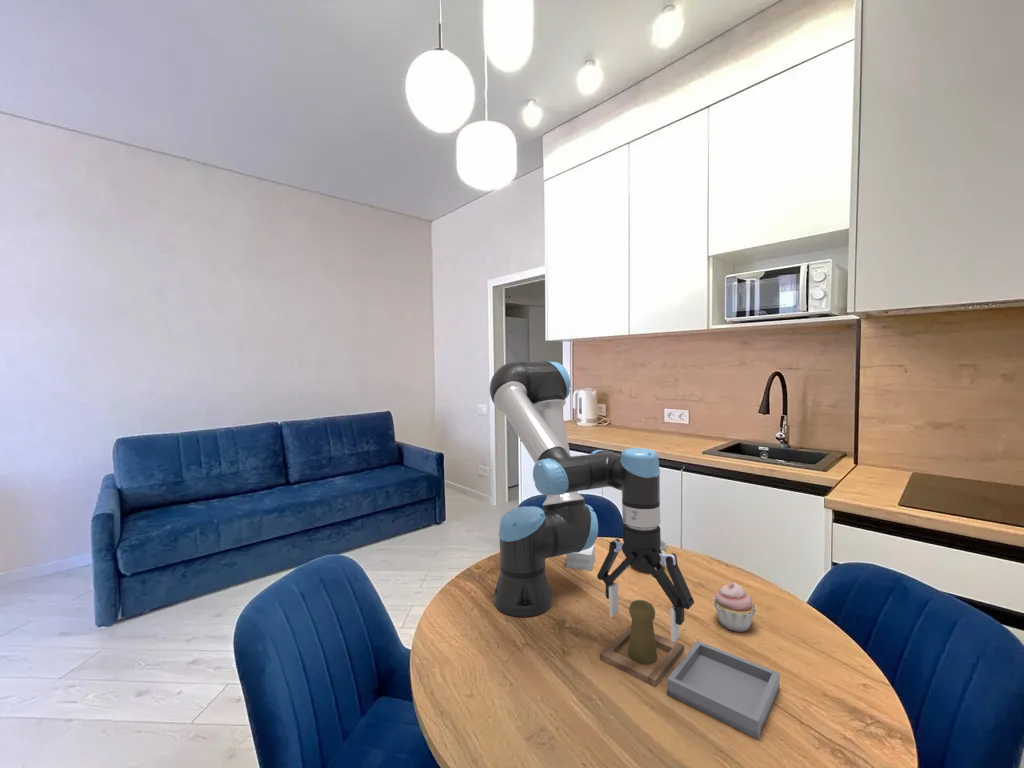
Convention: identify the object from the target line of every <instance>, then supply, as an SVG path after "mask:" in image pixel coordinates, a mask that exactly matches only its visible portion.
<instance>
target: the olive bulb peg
mask: <svg viewBox="0 0 1024 768" xmlns="http://www.w3.org/2000/svg"><path fill="white" fill-rule="evenodd" d="M628 613H629V616H630V618H631V624H630V625H631V631H630V639H629V641H628V647H627V656H628V658H629V659H631V660H633V661H635V662H637V663H639V664H642V665H644V666H646V665H647V666H648V665H653V664H655V663H656V662H657V660H658V651H657V647H656V642H655V635H654V633H655V630H654V623H653V621H654V620H655V617H656V610H655V607H654V605H653V604H652V603H651V602H650V601H648V600H647V601H646V600H643V599H637V600H633V601H632V602H631V603H630V604H629V609H628Z"/></svg>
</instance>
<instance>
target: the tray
mask: <svg viewBox="0 0 1024 768" xmlns="http://www.w3.org/2000/svg"><path fill="white" fill-rule="evenodd" d="M780 676H781V675H780V672H778V671H775V670H773V669H770V668H768V667H765V666H762V665H760V664H758V663H755V662H754V661H753V662H752V661H750V660H747V659H744V658H743V657H740V656H737V655H735V654H732V653H729V652H727V651H725V650H722V649H720V648H717V647H715V646H712V645H710V644H707V643H705V642H702V641H700V640H696V641H695V643H694V644H693V645H691V648H689V650H688V651H687V653H686V654H685V655H684V656H683V658H682V659H681V661H680V662H679V663H678V664H677V666H675V668H674V669H673V670H672V672H671V673H670V674H669V675H668V677H667V678H666V685H667V686H666V690H667V691H666V693H667V696H669V697H670V698H673V699H675V700H677V701H679V702H681V703H683V704H685V705H688V706H689V707H692V708H694V709H695V710H697V711H699V712H701V713H703V714H705V715H707V716H709V717H711V718H713V719H715V720H718V721H720V722H721V723H723V724H725V725H727V726H730V727H732V728H734V729H736V730H738V731H740V732H741V733H743V734H746V735H747V736H750V737H752V738H754V739H755V740H759V739H760V736H761V735H762V732H763V729H764V727H765V725H766V723H767V720H768V718H769V716H770V713H771V710H772V708H773V706H774V703H775V700H776V698H777V696H778V693H779V692H780V683H781V682H780V680H781V679H780Z"/></svg>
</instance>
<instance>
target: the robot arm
mask: <svg viewBox="0 0 1024 768" xmlns="http://www.w3.org/2000/svg"><path fill="white" fill-rule="evenodd" d="M570 379H571V378H570V375H569V373H568V371H567V369H566V368H565V366H564V365H562V364H561V363H560V362H556V361H549V360H543V361H511V362H507V363H505V364H503V365H502V366H500V367H499V368H498V369H497V370H496V371H495V372H494V374H493V376H492V377H491V380H490V383H489V395H490V399H491V401H492V402H493V405H494V406H495V407H496V409H498V411H500V412H503V413H504V415H505V417H506V418H507V420H508V422H509V424H510V425H511V427H512V428H513V430H514V431H515V433H516V435H517V436H518V438H519V440H520V441H521V442H522V445H523V447H524V448H525V449H526V451H527V452H528V454H529V456H530V457H531V460H532V461H533V462H534V465H533V469H532V479H533V482H534V487H535V489H536V490H537V492H539V494H541V495H544V496H546V498H545V500H544V501H543V503H542V507H539V506H532V505H531V506H526V505H525V506H519V507H516V508H512V509H510V510H509V511H506V512H505V513H504V514H503V515H502V517H500V521H499V531H498V536H499V557H500V558H499V563H500V567H499V568H500V569H499V570H500V573H499V575H498V578H497V579H498V580H497V583H496V587H495V589H494V593H493V601H494V606H495V608H496V609H497V610H498V611H500V612H502V613H503V614H506V615H508V616H512V617H513V616H514V617H519V618H522V617H523V618H527V617H528V618H529V617H533V616H538V615H541V614H543V613H545V612H547V611H548V610H549V609H550V608H551V607H552V606H553V602H554V599H553V590H552V588H551V586H550V583H549V578H548V576H547V573H546V559H550V558H554V557H558V556H563V555H566V554H569V553H573V552H575V553H576V552H577V553H578V552H580V551H582V550H586V549H589V548H590V547H592V546H593V545H595V542H596V540H597V539H598V535H599V522H598V517H597V513H596V512H595V511H594V509H593V507H592V506H591V505H589V504H586V501H585V497H583V496H582V495H580V494H579V492H580V491H587V490H593V489H595V490H596V489H601V488H602V489H603V488H609V487H610V488H614V489H616V490H617V491H621V497H622V498H621V503H622V504H621V505H622V522H623V524H622V541H623V542H621V541H620V539H619V538H615V539H614V540H612V541H610V542H609V548H608V552H607V555H606V556H605V558H604V561H603V562H602V565H601V567H600V569H599V571H598V573H597V575H596V576H597V580H599V581H602V582H604V584H605V597H606V599H607V600H608V609H609V610H608V613H609V615H608V616H609V617H610V618H614V617H615V616H616V615H617V614H619V612H620V610H619V609H620V608H619V606H620V605H619V583H618V582H616V580H617V579H618V578H619V577H620V576H621V575H622V574H623V573H624V572H625V571H626V570H627V569H628V568H629V566H631V567H632V569H634V570H640V571H642V572H643V573H649V574H650V575H651V576H652V578H654V579H655V581H656V582H657V583H658V585H659V586H660V587H661V589H662V591H663V592H664V594H665V595H666V597H667V598H668V600H669V601H670V603H671V604H672V606H671V607H670V608H669V612H670V620H669V621H670V640H671V641H673V642H677V640H678V639H679V638H680V637H681V626H682V624H683V623H684V621H685V610H689V609H690V608H692V606H693V605H694V604H695V600H694V597H693V595H692V594H691V591H690V589H689V587H688V584H687V582H686V580H685V577H684V575H683V574H682V571H681V569H680V567H679V565H678V557H677V554H676V553H674V552H672V553H670V554H667V553H666V554H662V552H661V549H660V545H661V540H662V539H661V527H660V525H661V501H660V500H661V495H660V494H661V493H660V490H661V489H660V488H661V487H660V480H661V479H660V478H661V477H660V476H661V475H660V474H661V469H660V462H659V461H660V460H659V459H660V458H659V455H658V453H657V451H656V450H653V449H650V448H642V447H641V448H639V447H632V448H631V447H630V448H626V449H623V450H622V452H621V454H620V453H617V452H613V451H610V450H607V449H605V450H604V449H596V450H593V451H592V452H590V453H589V454H585V455H584V454H582V455H573V456H571V452H570V446H569V441H568V439H569V438H568V435H567V430H566V423H565V419H564V414H563V408H564V406H565V405H566V403H567V401H566V399H567V398H568V397H569V395H570V393H571V389H570V388H571V380H570ZM621 551H622V553H623V555H624V556H625V558H624V560H623V561H622V562H621V563H620V564H619V565H618V566H617V567H616V568H615V569H614V570H613V571H612V572H611V573H610V571H611V569H612V567H613V565H614V562H615V561H616V559H617V556H618V555H619V552H621ZM661 560H662V561H663V562H664V566H662V565H661V563H660V561H661ZM655 567H656V568H657V570H655ZM665 567H666V571H667V572H668V573H666V571H665ZM609 573H610V574H609ZM668 575H669V576H668ZM669 577H670V578H669Z"/></svg>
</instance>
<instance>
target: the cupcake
mask: <svg viewBox="0 0 1024 768" xmlns="http://www.w3.org/2000/svg"><path fill="white" fill-rule="evenodd" d="M712 599H713V601H712V605H713V606H714V608H715V610H716V613H717V616H718V620H719V623H720V624H721V625H722V626H723V627H724V628H726V629H727V630H730V631H734V632H738V633H740V632H741V633H742V632H747V631H749V629H750V627H751V625H752V621H753V618H754V617H755V615H756V613H757V609H756V608H757V606H756V604H754V603H753V600H752V598H751V596H750V594H749V593H748V592H746V591H745V589H744V588H743V587H742V586H741V585H740V584H738V583H736V582H733V581H732V582H731V583H730V584H724V585H723V586H721V588H720V589H719V590H717V591H716V592H715V596H713V597H712Z"/></svg>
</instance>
